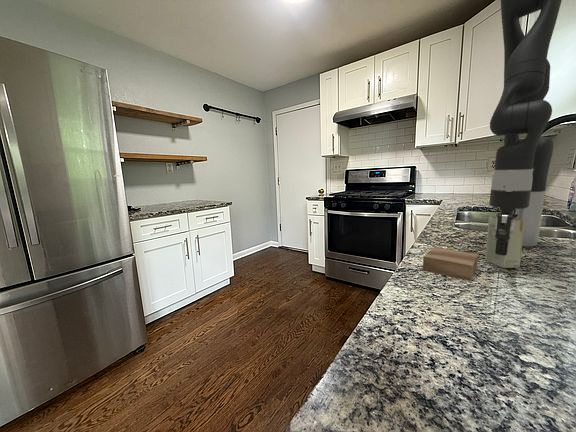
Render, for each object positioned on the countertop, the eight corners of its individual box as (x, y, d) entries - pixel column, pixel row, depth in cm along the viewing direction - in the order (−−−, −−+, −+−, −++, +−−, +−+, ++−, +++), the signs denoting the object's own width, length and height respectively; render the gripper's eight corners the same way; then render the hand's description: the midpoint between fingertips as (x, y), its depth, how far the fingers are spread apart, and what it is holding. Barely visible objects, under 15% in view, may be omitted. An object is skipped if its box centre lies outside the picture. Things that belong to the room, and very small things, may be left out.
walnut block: (432, 260, 70) (434, 246, 70) (476, 269, 63) (478, 254, 63) (422, 271, 63) (423, 256, 62) (470, 282, 56) (472, 265, 56)
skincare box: (520, 268, 62) (527, 220, 60) (502, 268, 62) (508, 221, 60) (499, 259, 68) (504, 215, 66) (483, 259, 68) (488, 216, 66)
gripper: (494, 186, 69) (488, 241, 72) (487, 189, 59) (480, 254, 62) (532, 186, 64) (523, 246, 67) (530, 190, 54) (520, 261, 57)
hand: (502, 250), depth 65 cm, fingers open, 8 cm apart
